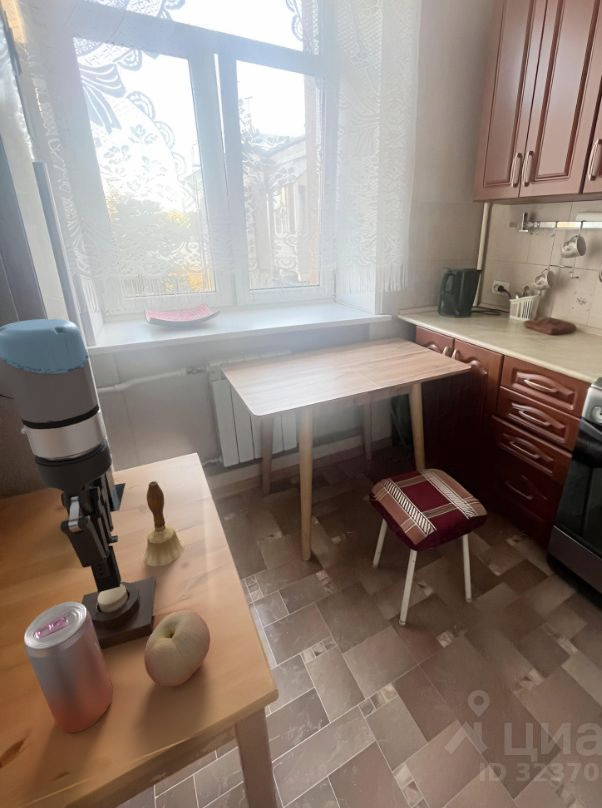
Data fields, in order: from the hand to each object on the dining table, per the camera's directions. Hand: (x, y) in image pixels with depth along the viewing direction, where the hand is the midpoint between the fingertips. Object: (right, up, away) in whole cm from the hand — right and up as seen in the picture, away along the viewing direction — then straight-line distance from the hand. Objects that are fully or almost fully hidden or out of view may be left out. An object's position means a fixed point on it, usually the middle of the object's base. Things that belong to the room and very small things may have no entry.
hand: (109, 585), depth 57 cm
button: (0, -3, +1) cm, 3 cm away
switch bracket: (-19, +4, +27) cm, 33 cm away
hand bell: (+1, -2, +14) cm, 14 cm away
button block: (0, -7, +3) cm, 7 cm away
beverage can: (+2, -11, -8) cm, 14 cm away
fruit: (+12, -10, -3) cm, 16 cm away
